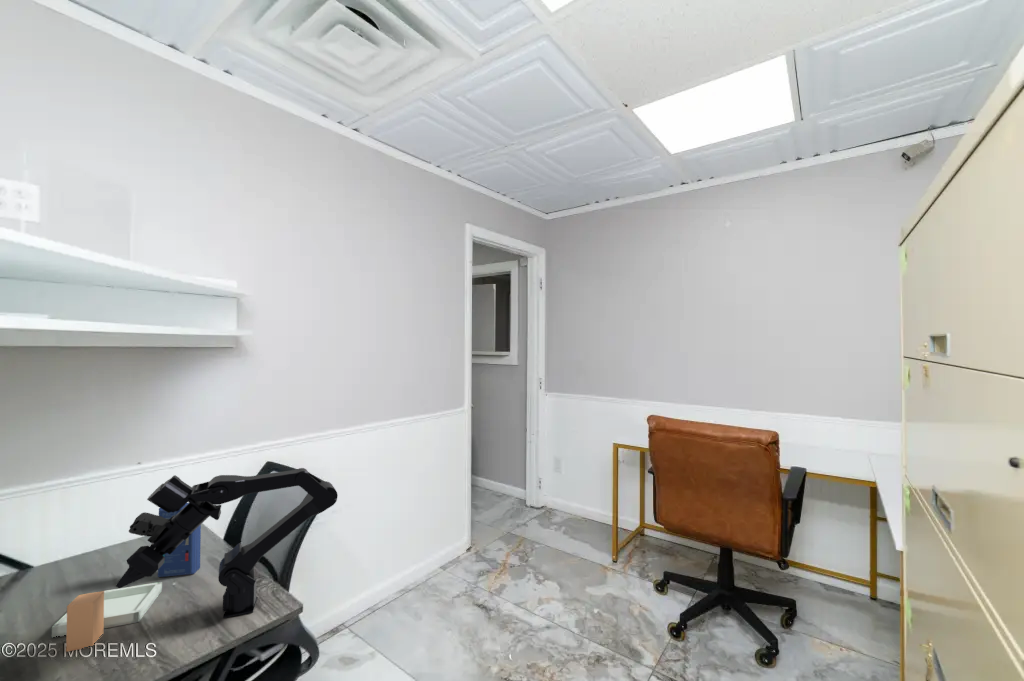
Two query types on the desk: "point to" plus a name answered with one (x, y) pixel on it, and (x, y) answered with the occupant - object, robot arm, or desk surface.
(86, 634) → the block
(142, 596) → the tray
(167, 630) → the desk surface
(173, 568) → the electronic device
